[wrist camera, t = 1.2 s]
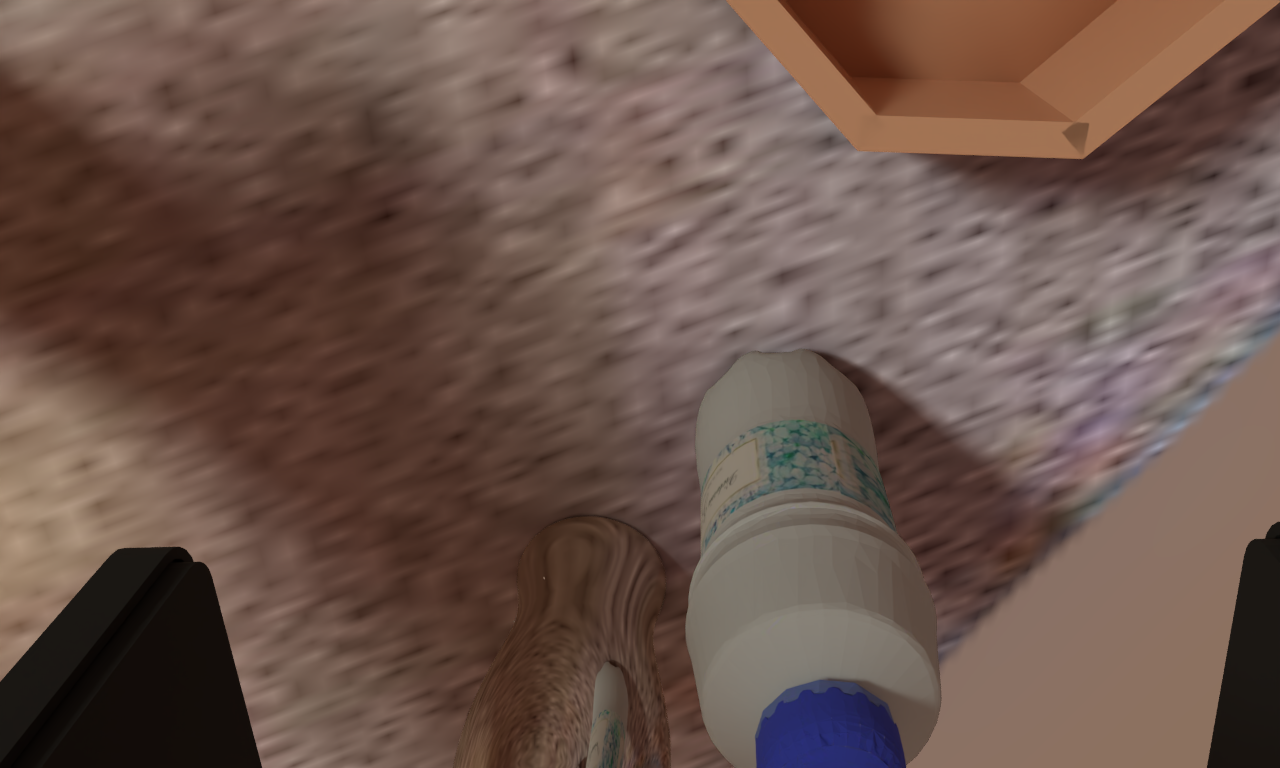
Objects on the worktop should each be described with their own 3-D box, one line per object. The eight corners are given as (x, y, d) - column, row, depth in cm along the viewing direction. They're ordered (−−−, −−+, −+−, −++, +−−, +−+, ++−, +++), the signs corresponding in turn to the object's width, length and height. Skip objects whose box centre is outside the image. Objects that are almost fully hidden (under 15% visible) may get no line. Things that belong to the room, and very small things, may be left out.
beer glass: (693, 522, 46) (689, 806, 32) (659, 661, 49) (643, 975, 35) (519, 490, 45) (442, 762, 32) (496, 631, 48) (416, 937, 35)
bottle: (725, 303, 42) (743, 650, 24) (897, 359, 42) (1045, 739, 24) (666, 457, 45) (641, 874, 26) (828, 508, 45) (914, 949, 27)
